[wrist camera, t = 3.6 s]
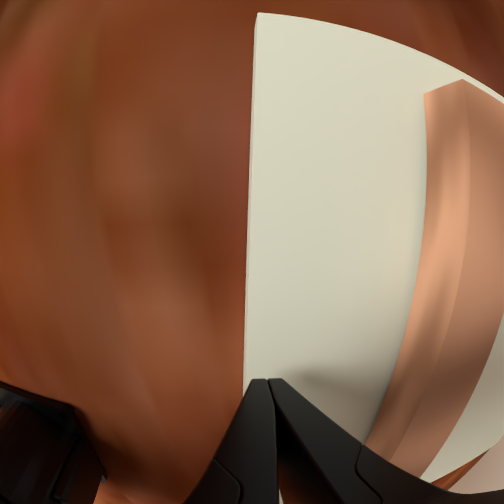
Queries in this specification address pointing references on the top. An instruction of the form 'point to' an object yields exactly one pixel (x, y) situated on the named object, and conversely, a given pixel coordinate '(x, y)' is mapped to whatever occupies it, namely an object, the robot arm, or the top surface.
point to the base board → (344, 224)
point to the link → (449, 279)
